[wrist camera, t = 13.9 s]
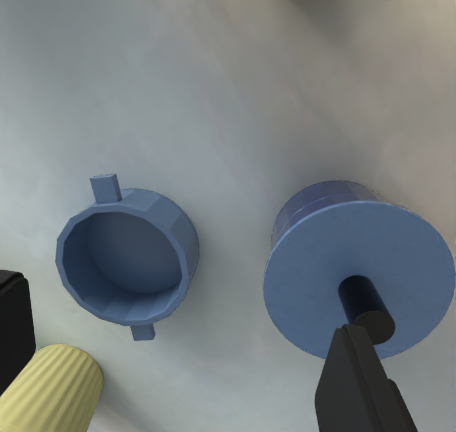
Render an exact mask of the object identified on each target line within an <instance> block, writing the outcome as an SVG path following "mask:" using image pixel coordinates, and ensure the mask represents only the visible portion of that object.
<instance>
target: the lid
mask: <svg viewBox="0 0 456 432" xmlns="http://www.w3.org/2000/svg"><path fill="white" fill-rule="evenodd" d="M455 275H456V274H455V266H454V261H453V258H452V255H451V252H450V250H449V248H448V246H447V244H446V242H445V241H444V239H443V238H442V237H441V235H440V234H439V233H438V232H437V231H436V230H435V229H434V228H433V227H432V226H431V225H430V224H429V223H428V222H426V221H425V220H424V219H422V218H421V217H420V216H418V215H417V214H415V213H413V212H411V211H409V210H407V209H405V208H402V207H399V206H396V205H394V204H389V203H384V202H378V201H350V202H343V203H338V204H335V205H331V206H327V207H325V208H322V209H320V210H318V211H315V212H313V213H311V214H310V215H308V216H306V217H304V218H303V219H301V220H300V221H299V222H297V223H296V224H294V225H293V226H292V227H291V228H290V229H289V230H288V231H287V232H286V233H285V234H284V235H283V236H282V237H281V239H280V240H279V241H278V242H277V244H276V246H275V247H274V249H273V250H272V252H271V254H270V257H269V259H268V261H267V265H266V268H265V272H264V280H263V291H264V300H265V305H266V308H267V310H268V313H269V315H270V317H271V319H272V321H273V323H274V324H275V326H276V327H277V329H278V330H279V331H280V332H281V333H282V334H283V335H284V336H285V338H287V339H288V340H289V341H290V342H291V343H293V344H294V345H295V346H297V347H299V348H300V349H302V350H303V351H306V352H308V353H310V354H312V355H314V356H317V357H320V358H323V359H326V358H327V354H328V351H329V348H330V345H331V341H332V338H333V335H334V332H335V329H336V328H341V327H342V326H343V324H350V325H356V326H362V327H365V329H366V330H367V332H368V335H369V337H370V339H371V341H372V344H373V346H374V348H375V351H376V353H377V355H378V357H379V360H380V359H383V358H387V357H390V356H393V355H396V354H398V353H401V352H403V351H405V350H407V349H409V348H410V347H412V346H414V345H415V344H417V343H418V342H420V341H421V340H422V339H424V338H425V337H426V336H427V335H428V334H429V333H430V332H431V331H432V330H433V329H434V328H435V327H436V326H437V325H438V324H439V322H440V321H441V320H442V318H443V317H444V315H445V313H446V311H447V310H448V308H449V306H450V303H451V300H452V297H453V294H454V289H455Z"/></svg>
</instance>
